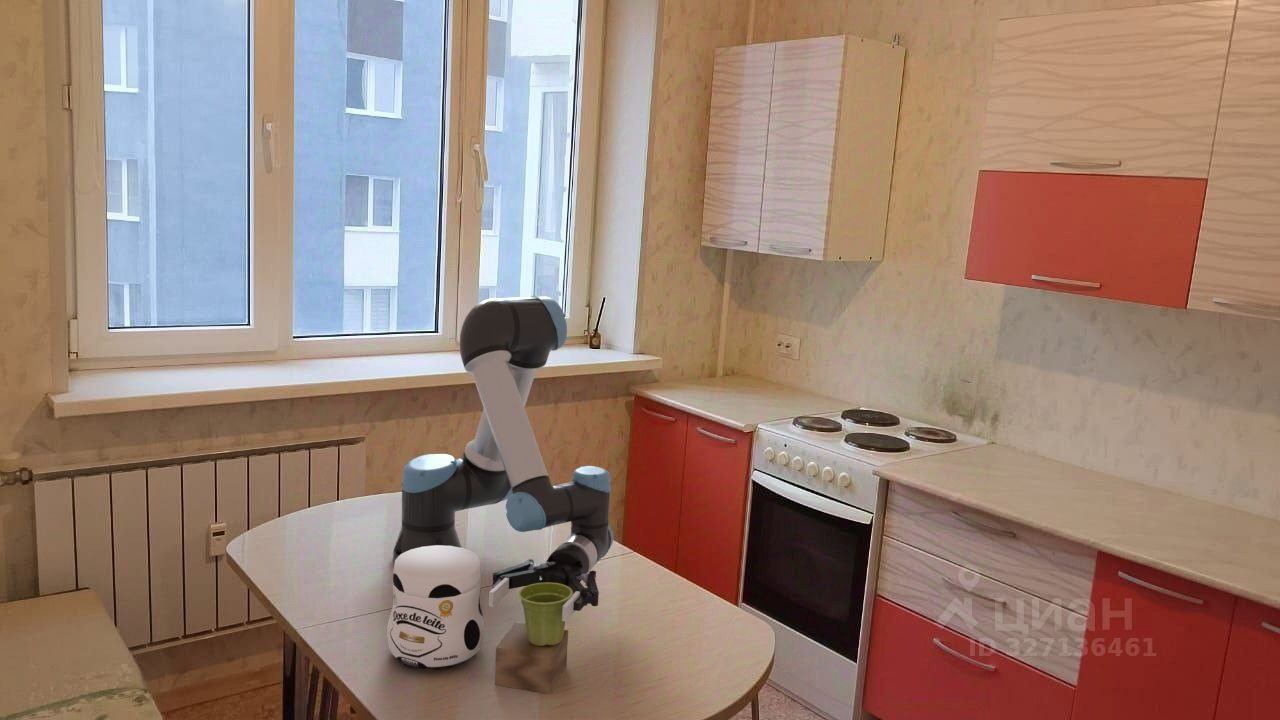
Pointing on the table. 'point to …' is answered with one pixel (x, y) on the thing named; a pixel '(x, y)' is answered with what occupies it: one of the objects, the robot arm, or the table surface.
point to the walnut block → (529, 661)
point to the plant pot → (544, 611)
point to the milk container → (436, 607)
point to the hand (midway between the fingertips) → (527, 606)
